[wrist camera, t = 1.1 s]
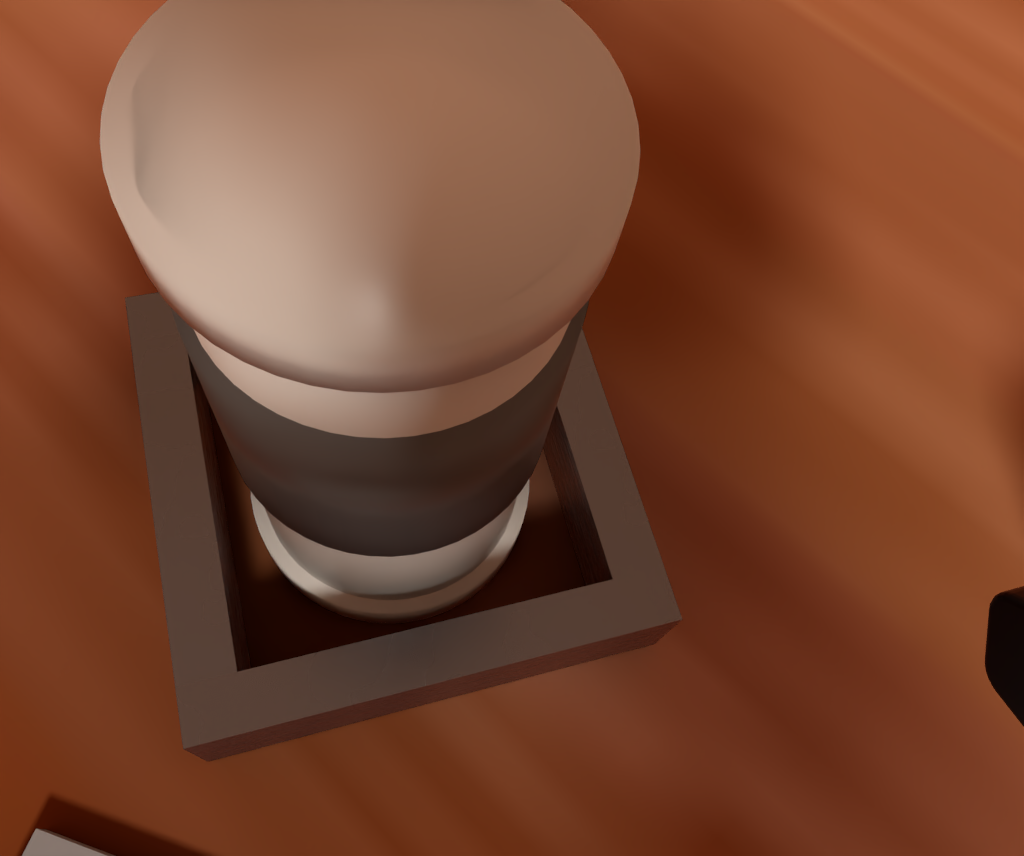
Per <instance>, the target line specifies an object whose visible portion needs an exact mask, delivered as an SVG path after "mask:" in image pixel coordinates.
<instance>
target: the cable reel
mask: <svg viewBox="0 0 1024 856" xmlns="http://www.w3.org/2000/svg"><path fill="white" fill-rule="evenodd" d="M100 148H101V157H102V165H103V172H104V175H105V178H106V182H107V185H108V188H109V192H110V195H111V198H112V201H113V203H114V205H115V207H116V210H117V212H118V214H119V217H120V219H121V221H122V223H123V226H124V228H125V230H126V232H127V235H128V237H129V239H130V241H131V244H132V246H133V248H134V250H135V252H136V254H137V256H138V258H139V260H140V262H141V264H142V266H143V268H144V270H145V272H146V274H147V276H148V278H149V279H150V281H151V282H152V283H153V285H154V286H155V288H156V289H157V290H158V292H159V293H160V295H161V296H162V297H163V299H164V300H165V302H166V303H167V304H168V305H169V306H170V307H171V310H172V313H173V317H174V320H175V323H176V326H177V329H178V332H179V334H180V336H181V339H182V341H183V343H184V346H185V348H186V350H187V353H188V355H189V357H190V360H191V362H192V364H193V367H194V369H195V371H196V374H197V376H198V378H199V381H200V383H201V385H202V388H203V390H204V392H205V395H206V397H207V399H208V402H209V404H210V406H211V409H212V411H213V413H214V416H215V418H216V420H217V423H218V425H219V427H220V430H221V432H222V434H223V437H224V439H225V441H226V443H227V446H228V448H229V450H230V453H231V455H232V457H233V460H234V462H235V464H236V466H237V468H238V470H239V472H240V474H241V476H242V478H243V480H244V482H245V483H246V485H247V486H248V488H249V489H250V491H251V501H252V507H253V513H254V517H255V520H256V523H257V526H258V529H259V532H260V534H261V536H262V539H263V541H264V543H265V545H266V547H267V549H268V551H269V553H270V555H271V557H272V559H273V561H274V562H275V564H276V565H277V567H278V568H279V570H280V571H281V573H282V574H283V575H284V576H285V577H286V578H287V580H288V581H289V582H290V583H291V584H292V585H293V586H294V587H295V588H296V589H297V590H299V591H300V592H301V593H302V594H303V595H305V596H306V597H307V598H308V599H310V600H312V601H313V602H315V603H316V604H318V605H320V606H321V607H323V608H325V609H327V610H330V611H332V612H334V613H336V614H339V615H341V616H345V617H348V618H352V619H355V620H359V621H366V622H372V623H393V624H395V623H405V622H414V621H418V620H422V619H426V618H430V617H433V616H436V615H438V614H441V613H444V612H446V611H449V610H451V609H453V608H454V607H456V606H458V605H460V604H462V603H464V602H465V601H467V600H468V599H469V598H471V597H472V596H474V595H475V594H476V593H478V592H479V591H480V590H481V589H482V588H483V587H484V586H485V585H486V584H487V583H489V582H490V581H491V580H492V579H493V577H494V576H495V575H496V574H497V572H498V571H499V570H500V569H501V567H502V566H503V565H504V563H505V561H506V560H507V558H508V556H509V555H510V553H511V551H512V549H513V547H514V544H515V542H516V540H517V537H518V535H519V532H520V529H521V526H522V523H523V520H524V516H525V512H526V509H527V503H528V496H529V478H530V476H531V475H532V473H533V471H534V469H535V466H536V464H537V462H538V459H539V457H540V455H541V451H542V448H543V445H544V442H545V439H546V436H547V433H548V430H549V427H550V424H551V421H552V418H553V415H554V412H555V409H556V406H557V403H558V400H559V396H560V393H561V390H562V387H563V384H564V381H565V378H566V375H567V372H568V369H569V366H570V363H571V360H572V357H573V354H574V351H575V348H576V345H577V341H578V338H579V335H580V332H581V329H582V326H583V322H584V319H585V315H586V311H587V308H588V303H589V298H590V297H591V295H592V294H593V292H594V291H595V289H596V288H597V286H598V285H599V283H600V282H601V280H602V279H603V277H604V275H605V273H606V270H607V268H608V266H609V264H610V261H611V259H612V257H613V255H614V253H615V250H616V247H617V244H618V241H619V238H620V235H621V232H622V229H623V226H624V223H625V220H626V217H627V214H628V212H629V209H630V206H631V202H632V199H633V195H634V191H635V187H636V183H637V180H638V172H639V161H640V138H639V125H638V120H637V116H636V112H635V108H634V104H633V99H632V97H631V94H630V92H629V89H628V87H627V84H626V82H625V80H624V77H623V75H622V73H621V71H620V69H619V68H618V66H617V64H616V62H615V61H614V59H613V57H612V56H611V54H610V52H609V51H608V49H607V48H606V47H605V45H604V44H603V43H602V42H601V40H600V39H599V38H598V36H597V35H596V34H595V33H594V31H593V30H592V29H591V28H590V27H589V26H588V25H587V24H586V23H585V22H584V21H583V20H582V19H581V18H580V17H579V16H578V15H577V14H576V13H575V12H574V11H573V10H572V9H571V8H570V7H569V6H567V5H566V4H565V3H564V2H562V1H561V0H168V1H167V2H166V3H164V4H163V5H162V6H161V7H160V8H159V9H158V10H157V11H156V12H154V13H153V14H152V15H151V16H150V18H149V19H148V20H147V21H146V22H145V24H144V25H143V26H142V27H141V28H140V30H139V31H138V32H137V33H136V34H135V35H134V37H133V38H132V40H131V41H130V43H129V45H128V46H127V48H126V50H125V51H124V53H123V54H122V56H121V58H120V59H119V61H118V63H117V66H116V68H115V70H114V73H113V75H112V78H111V80H110V82H109V85H108V87H107V92H106V96H105V100H104V105H103V109H102V113H101V128H100Z"/></svg>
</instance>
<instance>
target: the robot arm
mask: <svg viewBox="0 0 1024 856" xmlns="http://www.w3.org/2000/svg"><path fill="white" fill-rule="evenodd" d="M985 667H986V672H987V675H988V678H989V680H990V682H991V684H992V686H993V688H994V689H995V691H996V692H997V693H998V694H999V696H1000V697H1001V698H1002V700H1003V701H1004V702H1005V703H1006V705H1007V706H1008V707H1009V708H1010V710H1011V711H1012V712H1013V714H1014V715H1015V716H1016V717H1017V719H1018V720H1019V721H1020V722H1021V724H1022V725H1023V726H1024V586H1022V587H1019V588H1015V589H1011V590H1008V591H1004V592H1001V593H999V594H997V595H996V596H995V597H994V598H993V600H992V602H991V603H990V608H989V617H988V629H987V641H986V653H985Z"/></svg>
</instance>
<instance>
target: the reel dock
mask: <svg viewBox="0 0 1024 856" xmlns="http://www.w3.org/2000/svg"><path fill="white" fill-rule="evenodd" d="M125 302H126V310H127V317H128V325H129V333H130V341H131V348H132V356H133V364H134V372H135V379H136V387H137V395H138V402H139V410H140V418H141V426H142V433H143V441H144V449H145V457H146V464H147V472H148V480H149V487H150V495H151V503H152V511H153V518H154V526H155V534H156V542H157V549H158V557H159V565H160V572H161V580H162V588H163V596H164V603H165V611H166V619H167V627H168V634H169V642H170V650H171V658H172V665H173V673H174V681H175V688H176V696H177V704H178V712H179V719H180V727H181V735H182V743H183V749H184V750H186V751H188V752H190V753H192V754H194V755H196V756H198V757H200V758H202V759H204V760H206V761H212V760H216V759H220V758H223V757H227V756H231V755H235V754H239V753H242V752H246V751H250V750H254V749H258V748H261V747H265V746H269V745H273V744H277V743H280V742H284V741H288V740H292V739H295V738H299V737H303V736H307V735H311V734H314V733H318V732H322V731H326V730H330V729H333V728H337V727H341V726H345V725H349V724H352V723H356V722H360V721H364V720H368V719H371V718H375V717H379V716H383V715H387V714H390V713H394V712H398V711H402V710H406V709H409V708H413V707H417V706H421V705H425V704H428V703H432V702H436V701H440V700H443V699H447V698H451V697H455V696H459V695H462V694H466V693H470V692H474V691H478V690H481V689H485V688H489V687H493V686H497V685H500V684H504V683H508V682H512V681H516V680H519V679H523V678H527V677H531V676H535V675H538V674H542V673H546V672H550V671H554V670H557V669H561V668H565V667H569V666H572V665H576V664H580V663H584V662H588V661H591V660H595V659H599V658H603V657H607V656H610V655H614V654H618V653H622V652H626V651H629V650H633V649H637V648H641V647H645V646H648V645H652V644H655V643H656V642H657V641H658V640H660V639H661V638H662V637H663V636H664V635H665V634H666V633H667V632H669V631H670V630H671V629H672V628H673V627H674V626H675V625H677V624H678V623H679V622H680V621H681V620H682V617H681V614H680V611H679V608H678V605H677V603H676V600H675V597H674V594H673V591H672V588H671V585H670V582H669V579H668V576H667V573H666V571H665V568H664V565H663V562H662V559H661V556H660V553H659V550H658V547H657V544H656V541H655V539H654V536H653V533H652V530H651V527H650V524H649V521H648V518H647V515H646V512H645V509H644V507H643V504H642V501H641V498H640V495H639V492H638V489H637V486H636V483H635V480H634V477H633V475H632V472H631V469H630V466H629V463H628V460H627V457H626V454H625V451H624V448H623V445H622V443H621V440H620V437H619V434H618V431H617V428H616V425H615V422H614V419H613V416H612V413H611V411H610V408H609V405H608V402H607V399H606V396H605V393H604V390H603V387H602V384H601V381H600V379H599V376H598V373H597V370H596V367H595V364H594V361H593V358H592V355H591V352H590V349H589V347H588V344H587V341H586V338H585V335H584V332H583V329H581V332H580V335H579V338H578V341H577V345H576V348H575V351H574V354H573V357H572V360H571V363H570V366H569V369H568V372H567V375H566V378H565V381H564V384H563V387H562V390H561V393H560V396H559V400H558V403H557V406H556V409H555V412H554V415H553V418H552V421H551V424H550V427H549V430H548V433H547V436H546V439H545V442H544V445H543V449H544V452H545V455H546V459H547V462H548V465H549V468H550V472H551V475H552V478H553V481H554V485H555V488H556V491H557V494H558V498H559V501H560V504H561V507H562V511H563V514H564V517H565V520H566V524H567V527H568V530H569V533H570V537H571V540H572V543H573V546H574V550H575V553H576V556H577V559H578V563H579V566H580V569H581V572H582V576H583V579H584V582H585V585H586V586H584V587H579V588H575V589H571V590H567V591H563V592H559V593H555V594H551V595H547V596H543V597H539V598H535V599H531V600H527V601H523V602H519V603H515V604H511V605H506V606H502V607H498V608H494V609H490V610H486V611H482V612H478V613H474V614H470V615H466V616H462V617H458V618H454V619H450V620H446V621H442V622H438V623H433V624H429V625H425V626H421V627H417V628H413V629H409V630H405V631H401V632H397V633H393V634H389V635H385V636H381V637H377V638H373V639H369V640H365V641H361V642H356V643H352V644H348V645H344V646H340V647H336V648H332V649H328V650H324V651H320V652H316V653H312V654H308V655H304V656H300V657H296V658H292V659H288V660H283V661H279V662H275V663H271V664H267V665H263V666H259V667H255V668H251V663H250V657H249V650H248V644H247V638H246V632H245V626H244V619H243V613H242V607H241V601H240V595H239V588H238V582H237V576H236V570H235V564H234V557H233V551H232V545H231V539H230V533H229V526H228V520H227V514H226V508H225V502H224V495H223V489H222V483H221V477H220V471H219V464H218V458H217V452H216V446H215V440H214V433H213V427H212V421H211V415H210V409H209V403H208V399H207V397H206V395H205V392H204V390H203V388H202V385H201V383H200V381H199V378H198V376H197V374H196V371H195V369H194V367H193V364H192V362H191V360H190V357H189V355H188V353H187V350H186V348H185V346H184V343H183V341H182V339H181V336H180V334H179V332H178V329H177V326H176V323H175V320H174V317H173V313H172V310H171V307H170V306H169V305H168V304H167V303H166V302H165V300H164V299H163V297H162V296H161V295H160V293H159V292H157V293H151V294H145V295H139V296H133V297H127V298H125Z"/></svg>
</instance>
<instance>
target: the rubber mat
mask: <svg viewBox="0 0 1024 856" xmlns="http://www.w3.org/2000/svg"><path fill="white" fill-rule="evenodd" d="M22 856H115V855H112V854H109V853H107V852H104V851H101V850H99V849H96V848H94V847H91V846H88V845H86V844H83V843H80V842H78V841H75V840H73V839H70V838H67V837H65V836H62V835H59V834H57V833H54V832H52V831H49V830H46V829H35V831H34V833H33V835H32V837H31V839H30V841H29V843H28V845H27V847H26V849H25V851H24V853H23V855H22Z"/></svg>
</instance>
